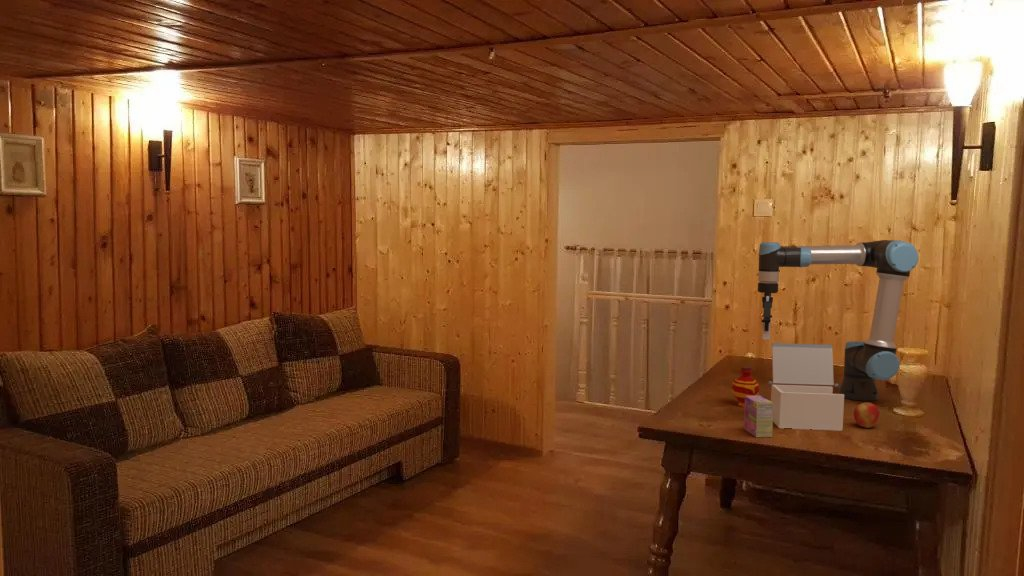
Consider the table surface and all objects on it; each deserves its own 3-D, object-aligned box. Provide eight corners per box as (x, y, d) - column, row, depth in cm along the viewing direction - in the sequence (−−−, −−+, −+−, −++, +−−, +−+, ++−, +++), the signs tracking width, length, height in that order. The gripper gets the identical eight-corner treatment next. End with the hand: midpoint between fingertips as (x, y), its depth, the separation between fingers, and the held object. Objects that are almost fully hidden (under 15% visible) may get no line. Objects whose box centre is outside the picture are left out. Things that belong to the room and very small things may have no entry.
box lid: (833, 385, 272) (832, 385, 273) (832, 344, 275) (831, 345, 276) (773, 383, 274) (772, 383, 275) (772, 343, 277) (771, 343, 277)
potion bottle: (759, 403, 299) (760, 365, 297) (758, 409, 289) (760, 370, 287) (731, 401, 302) (732, 363, 301) (729, 406, 292) (731, 368, 291)
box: (743, 429, 261) (744, 395, 260) (759, 429, 261) (761, 395, 260) (755, 437, 251) (757, 402, 250) (772, 437, 251) (773, 402, 250)
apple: (877, 431, 261) (878, 402, 260) (851, 427, 265) (852, 399, 264) (879, 426, 268) (881, 398, 267) (854, 422, 272) (856, 395, 271)
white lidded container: (835, 420, 274) (837, 383, 273) (848, 431, 261) (850, 391, 259) (766, 417, 276) (768, 380, 275) (776, 428, 263) (777, 389, 262)
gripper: (758, 279, 307) (756, 331, 309) (757, 284, 283) (755, 341, 285) (778, 280, 305) (775, 332, 306) (778, 285, 281) (776, 342, 283)
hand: (766, 336), depth 296 cm, fingers open, 13 cm apart
